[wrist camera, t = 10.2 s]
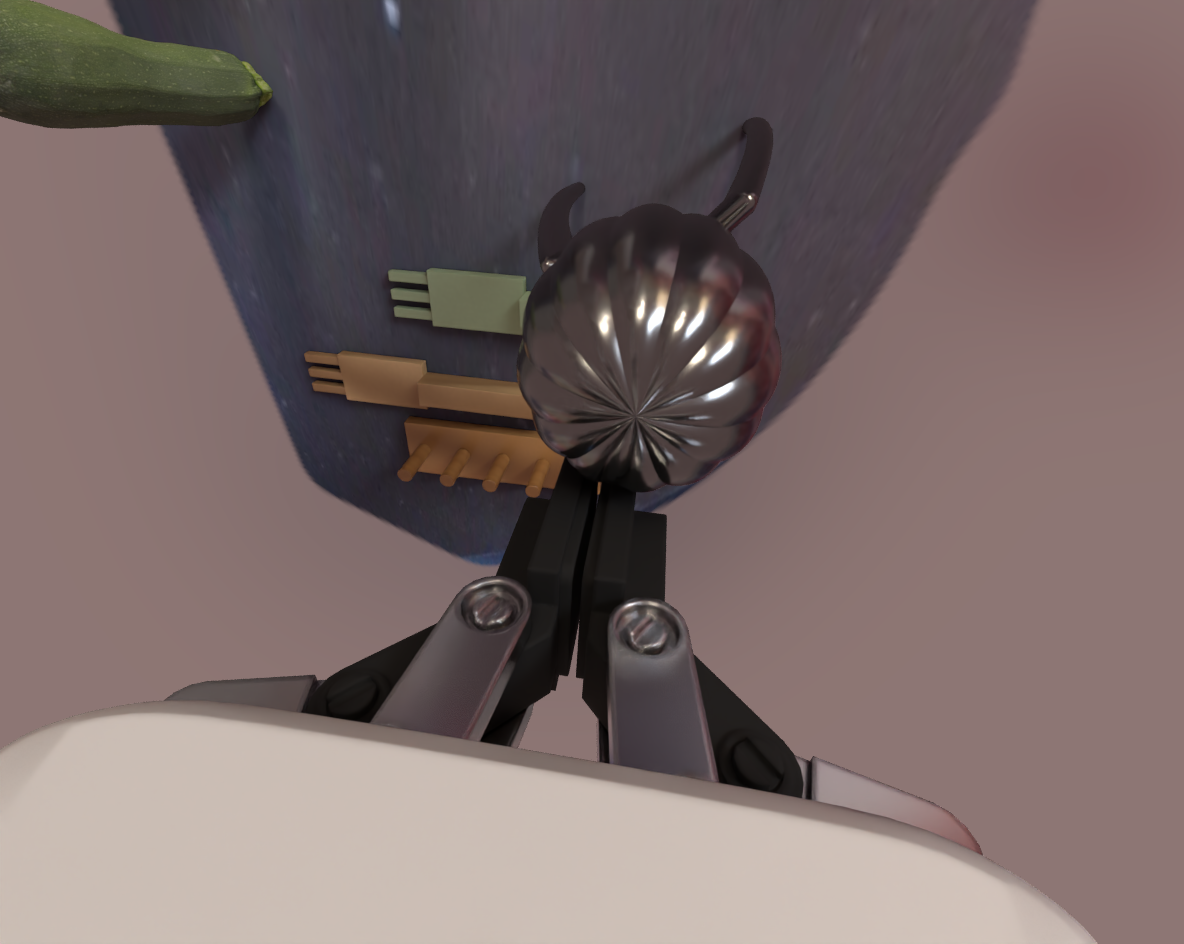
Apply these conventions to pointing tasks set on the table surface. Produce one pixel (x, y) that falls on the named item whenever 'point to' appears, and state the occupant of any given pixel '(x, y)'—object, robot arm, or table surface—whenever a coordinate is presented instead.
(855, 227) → the table surface
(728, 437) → the juicer
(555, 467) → the rack
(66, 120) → the vegetable
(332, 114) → the table surface
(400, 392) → the birch fork
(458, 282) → the sage fork
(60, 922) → the robot arm
